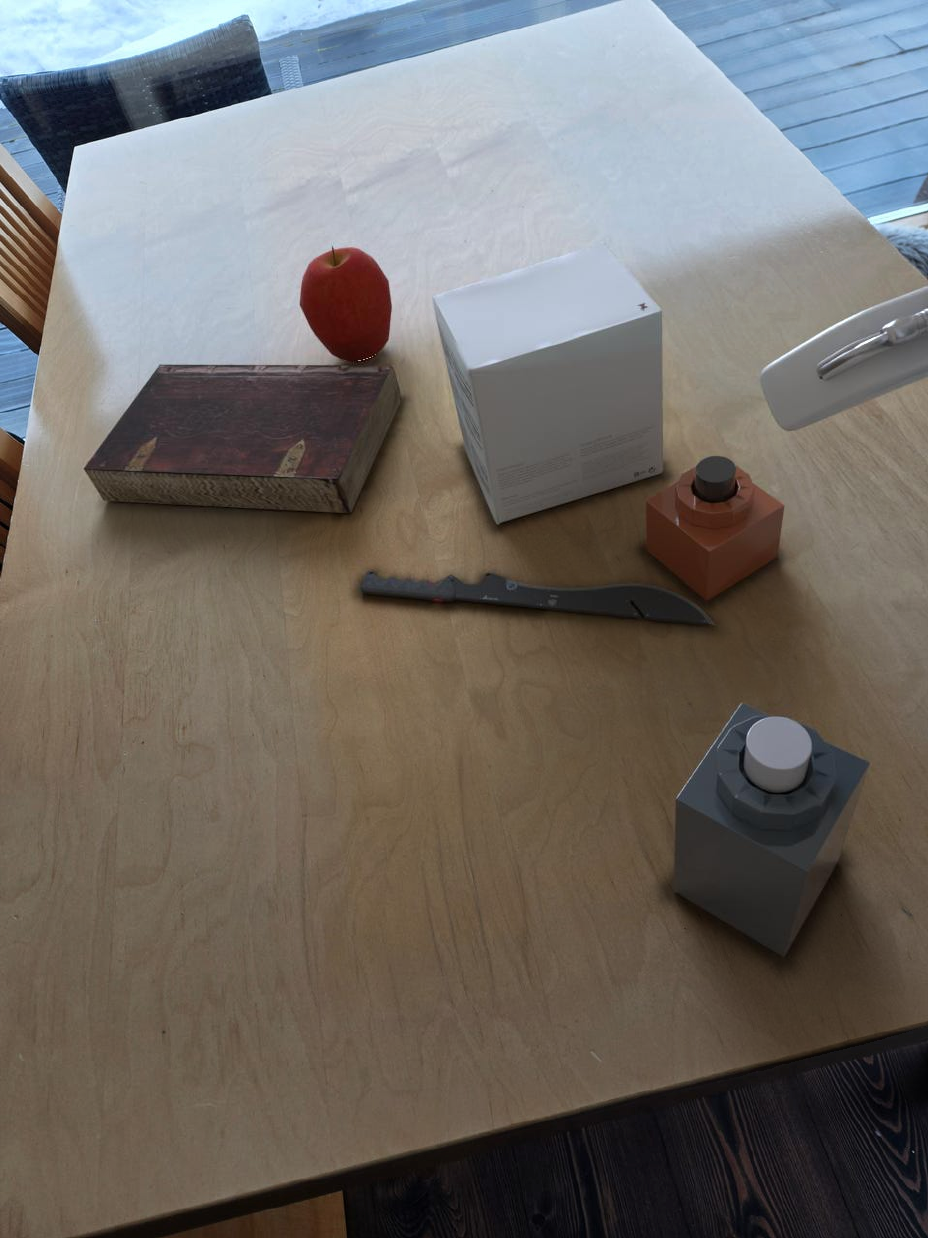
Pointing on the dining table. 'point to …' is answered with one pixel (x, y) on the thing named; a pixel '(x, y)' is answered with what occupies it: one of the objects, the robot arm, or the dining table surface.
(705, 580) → the button base
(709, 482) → the dark grey cylinder
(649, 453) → the supplement box
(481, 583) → the knife
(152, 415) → the book
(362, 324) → the apple
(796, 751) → the cylinder
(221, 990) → the dining table surface
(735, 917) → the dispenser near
